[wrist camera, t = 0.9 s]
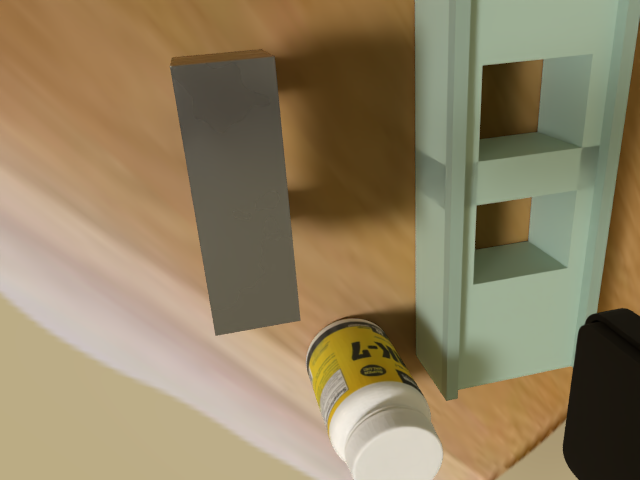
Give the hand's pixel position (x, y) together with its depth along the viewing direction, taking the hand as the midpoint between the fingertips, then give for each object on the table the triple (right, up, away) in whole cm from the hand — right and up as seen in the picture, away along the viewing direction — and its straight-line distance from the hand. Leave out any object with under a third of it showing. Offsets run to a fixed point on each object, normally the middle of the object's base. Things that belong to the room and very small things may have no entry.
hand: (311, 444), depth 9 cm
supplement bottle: (+2, -3, +22) cm, 23 cm away
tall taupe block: (-4, +7, +16) cm, 18 cm away
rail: (+9, +7, +19) cm, 23 cm away
